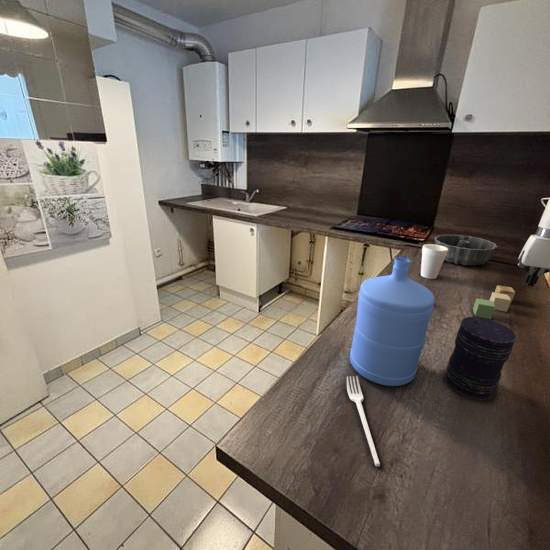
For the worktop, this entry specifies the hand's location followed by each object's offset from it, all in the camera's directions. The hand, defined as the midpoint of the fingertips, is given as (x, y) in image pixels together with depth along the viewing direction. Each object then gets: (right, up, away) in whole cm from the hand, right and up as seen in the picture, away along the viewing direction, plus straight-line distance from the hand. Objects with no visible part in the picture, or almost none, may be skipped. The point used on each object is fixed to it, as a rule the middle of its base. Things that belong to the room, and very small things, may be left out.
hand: (528, 284), depth 102 cm
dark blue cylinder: (-44, -22, -35) cm, 60 cm away
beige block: (-11, -8, -1) cm, 14 cm away
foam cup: (-22, +3, +25) cm, 33 cm away
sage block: (-20, -10, -5) cm, 23 cm away
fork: (-72, -26, -43) cm, 88 cm away
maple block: (-5, -6, +5) cm, 9 cm away
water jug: (-62, -19, -29) cm, 72 cm away
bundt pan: (+4, +11, +45) cm, 46 cm away
